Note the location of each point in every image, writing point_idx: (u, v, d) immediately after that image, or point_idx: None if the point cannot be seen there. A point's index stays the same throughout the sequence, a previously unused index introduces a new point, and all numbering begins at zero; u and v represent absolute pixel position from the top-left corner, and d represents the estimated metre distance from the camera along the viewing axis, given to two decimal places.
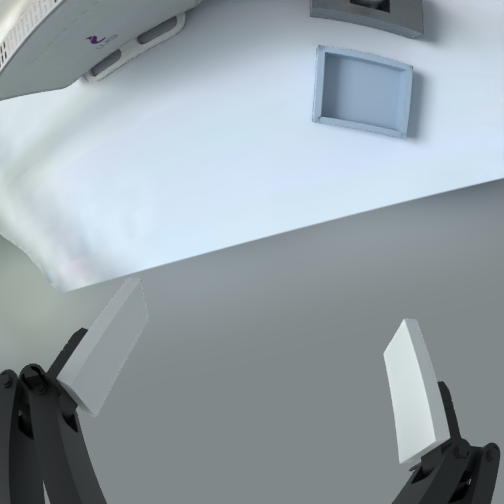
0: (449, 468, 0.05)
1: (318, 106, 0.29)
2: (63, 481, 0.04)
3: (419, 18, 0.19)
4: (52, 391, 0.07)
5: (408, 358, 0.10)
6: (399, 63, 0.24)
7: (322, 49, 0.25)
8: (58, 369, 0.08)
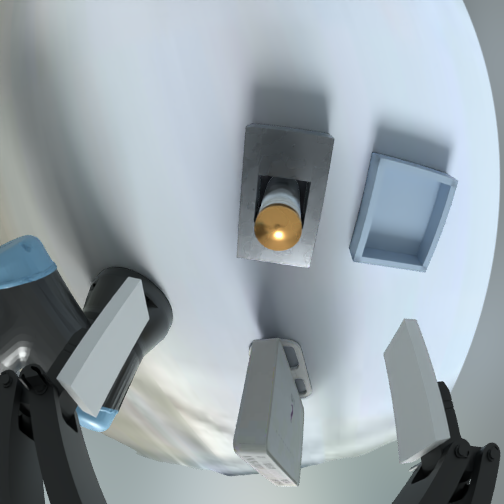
0: (449, 468, 0.05)
1: (413, 267, 0.29)
2: (63, 481, 0.04)
3: (309, 140, 0.23)
4: (52, 391, 0.07)
5: (407, 358, 0.10)
6: (378, 175, 0.25)
7: (358, 258, 0.30)
8: (58, 369, 0.08)
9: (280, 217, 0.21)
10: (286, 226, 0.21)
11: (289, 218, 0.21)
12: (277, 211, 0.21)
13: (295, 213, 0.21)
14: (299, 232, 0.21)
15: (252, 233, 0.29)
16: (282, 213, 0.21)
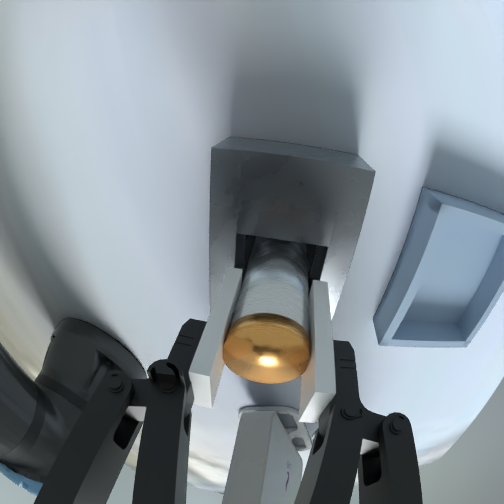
0: (341, 433, 0.07)
1: (454, 344, 0.18)
2: (161, 489, 0.05)
3: (330, 173, 0.12)
4: (182, 393, 0.08)
5: (311, 315, 0.13)
6: (434, 232, 0.14)
7: (386, 341, 0.19)
8: (176, 363, 0.10)
9: (270, 344, 0.10)
10: (281, 356, 0.11)
11: (287, 346, 0.10)
12: (264, 336, 0.10)
13: (299, 336, 0.10)
14: (305, 364, 0.11)
15: None
16: (273, 339, 0.10)
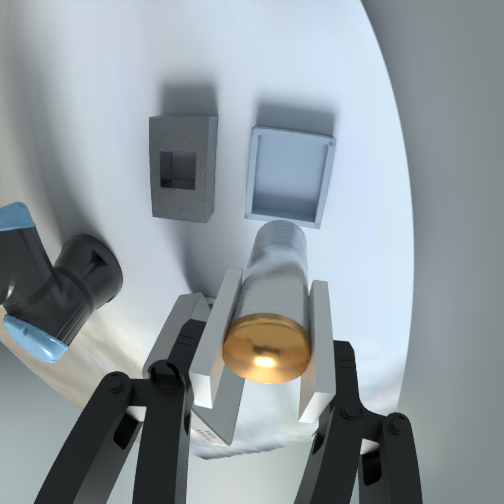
0: (341, 433, 0.07)
1: (305, 223, 0.36)
2: (161, 489, 0.05)
3: (191, 121, 0.30)
4: (182, 393, 0.08)
5: (311, 315, 0.13)
6: (252, 142, 0.31)
7: (248, 215, 0.36)
8: (176, 363, 0.10)
9: (269, 344, 0.10)
10: (281, 356, 0.11)
11: (287, 346, 0.10)
12: (263, 336, 0.10)
13: (299, 336, 0.10)
14: (305, 364, 0.11)
15: (160, 196, 0.36)
16: (273, 339, 0.10)
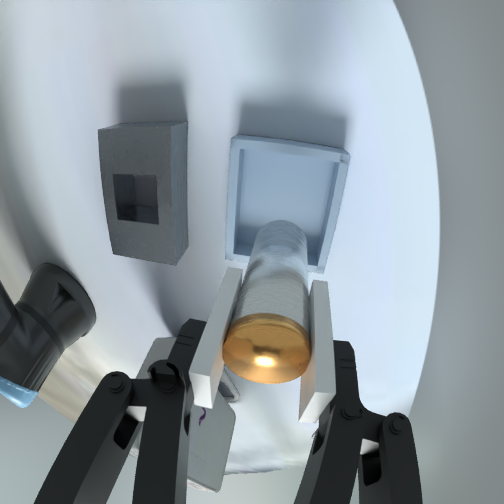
0: (341, 433, 0.07)
1: None
2: (161, 489, 0.05)
3: (148, 132, 0.21)
4: (182, 393, 0.08)
5: (311, 315, 0.13)
6: (231, 159, 0.23)
7: (230, 256, 0.28)
8: (176, 363, 0.10)
9: (270, 344, 0.10)
10: (281, 357, 0.11)
11: (287, 346, 0.10)
12: (264, 336, 0.10)
13: (299, 336, 0.10)
14: (305, 364, 0.11)
15: (119, 230, 0.27)
16: (273, 339, 0.10)
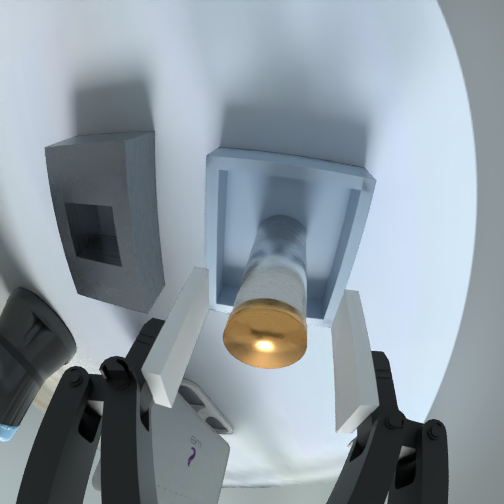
0: (383, 442, 0.07)
1: (307, 321, 0.21)
2: (125, 483, 0.05)
3: (98, 150, 0.15)
4: (135, 388, 0.08)
5: (345, 326, 0.12)
6: (208, 185, 0.16)
7: (212, 305, 0.21)
8: (134, 361, 0.09)
9: (268, 328, 0.11)
10: (279, 340, 0.11)
11: (285, 330, 0.11)
12: (263, 319, 0.11)
13: (297, 320, 0.11)
14: (302, 349, 0.12)
15: (80, 269, 0.21)
16: (272, 323, 0.11)
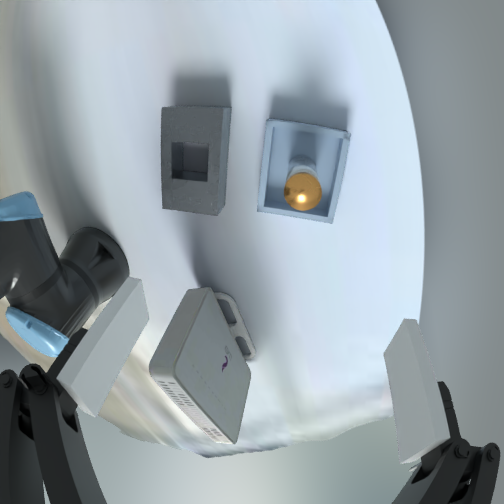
0: (449, 468, 0.05)
1: (317, 218, 0.35)
2: (63, 481, 0.04)
3: (205, 111, 0.29)
4: (52, 391, 0.07)
5: (408, 358, 0.10)
6: (266, 134, 0.31)
7: (261, 208, 0.36)
8: (58, 369, 0.08)
9: (305, 182, 0.25)
10: (309, 190, 0.26)
11: (312, 183, 0.25)
12: (303, 177, 0.25)
13: (317, 179, 0.25)
14: (320, 195, 0.26)
15: (171, 187, 0.35)
16: (307, 179, 0.25)
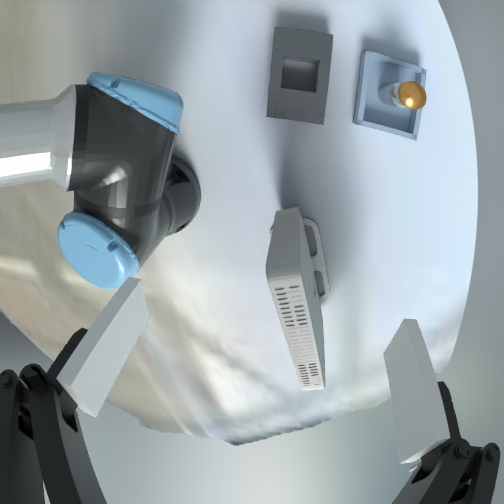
0: (449, 468, 0.05)
1: (405, 134, 0.34)
2: (63, 481, 0.04)
3: (317, 35, 0.28)
4: (52, 391, 0.07)
5: (407, 358, 0.10)
6: (366, 61, 0.29)
7: (360, 122, 0.34)
8: (58, 369, 0.08)
9: (415, 87, 0.24)
10: (418, 93, 0.24)
11: (419, 89, 0.24)
12: (413, 83, 0.24)
13: None
14: (425, 99, 0.25)
15: (279, 96, 0.34)
16: (416, 85, 0.24)
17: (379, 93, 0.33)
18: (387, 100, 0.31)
